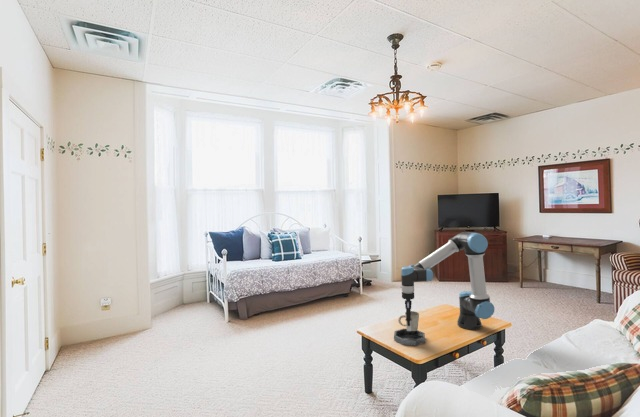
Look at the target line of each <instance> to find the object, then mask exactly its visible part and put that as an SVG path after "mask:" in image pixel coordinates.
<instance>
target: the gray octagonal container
mask: <svg viewBox="0 0 640 417" xmlns="http://www.w3.org/2000/svg"><path fill="white" fill-rule="evenodd" d="M393 340H394V342H396V343H397V344H401V345H403V346H414V347H416V346H417V347H418V346H420V345H422V344H423V345H424V344H425V343H426V334H425V332H423V331H420V330H417V331H407V328H400V329H396V330H394V333H393Z"/></svg>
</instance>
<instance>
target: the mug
mask: <svg viewBox="0 0 640 417" xmlns="http://www.w3.org/2000/svg"><path fill="white" fill-rule="evenodd" d="M410 316H411V331H417V330H418V329H419V319H420V313H419V312H418V311H415V310H414V311H411V315H410ZM402 318H405V319H406V312H405V314H404V315H400V316H399V317H398V324H399V325H400V326H403V327H407V326H406V324H403V323H402V321H401V320H402Z"/></svg>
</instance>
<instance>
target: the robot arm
mask: <svg viewBox="0 0 640 417" xmlns="http://www.w3.org/2000/svg"><path fill="white" fill-rule="evenodd" d="M447 240H448V241H447V243H445V244H444V245H441V246H440V247H439V248H437V249H436V250H434V251H433V252H432V253H430V254H429V255H427V256H426V257H424V258H423V259H421V260H419V261H418V262H417V263H415V264H410V265H408V266H402V267H401V272H400V277H401V278H400V279H401V286H400V288H401V298H402V299H403V300H404V304H405V310H406V311H405V313H406V318H405V322H406V324H405V325H406V326H405V327H406V329H407V331H411V316H410V315H411V310H412V304H413V303H412V302H413V301H412V300H414V299H415V283H422V282H423V283H425V282H426V283H427V282H432V281H433V279H434V272H433V271H432V268H433V267H435V266H436V265H437V264H440V262H442V261H444V260H446V259H447V258H448V257H450V256H452V255H453V254H454V253H458V252H460V251H463V250H464V254H465V256H467V262H468V270H469V279H470V280H469V281H470V289H471V290H470V291H469V290H467V291H465V290H463V291H460V292H459V297H458V298H459V299H458V300H459V315H458V318H457V321H456V322H457V326H458V327H459V328H462V329H465V330H472V331H474V330H475V331H476V330H481V329H482V328H483V325H482V324H483V323H482V321H481V319H482V320H488V319H489V318H491V317H492V316H493V315H494V313H495V306H494V304H493V303H492V302H491V297H490V295H489V294H488V293H487V284H486V277H485V268H484V267H485V265H484V256H485V254H486V250H487V249H488V245H489V243H488V239H487V238H486V237H485V235H483V234H481V233H479V232H472V231H463V232H459V233H458V234H456V235H455V236H453V237H451V238H450V239H447Z"/></svg>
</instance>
